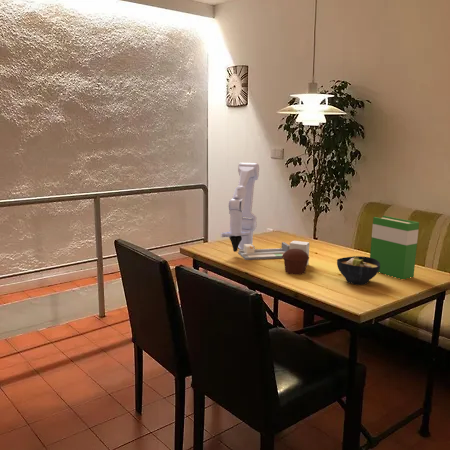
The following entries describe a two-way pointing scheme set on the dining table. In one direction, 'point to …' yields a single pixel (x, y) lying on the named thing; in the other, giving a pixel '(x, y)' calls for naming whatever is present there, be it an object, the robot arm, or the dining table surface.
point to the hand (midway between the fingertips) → (235, 251)
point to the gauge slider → (248, 248)
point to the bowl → (358, 269)
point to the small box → (300, 246)
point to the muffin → (295, 261)
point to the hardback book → (394, 246)
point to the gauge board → (265, 253)
